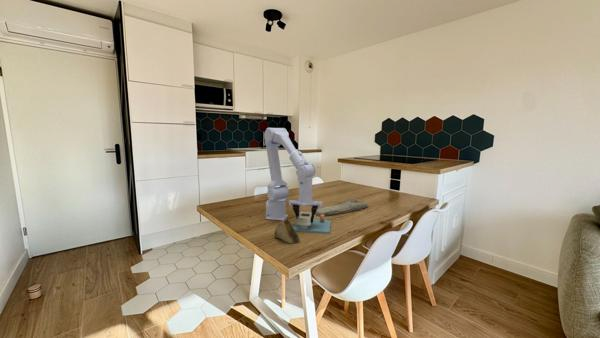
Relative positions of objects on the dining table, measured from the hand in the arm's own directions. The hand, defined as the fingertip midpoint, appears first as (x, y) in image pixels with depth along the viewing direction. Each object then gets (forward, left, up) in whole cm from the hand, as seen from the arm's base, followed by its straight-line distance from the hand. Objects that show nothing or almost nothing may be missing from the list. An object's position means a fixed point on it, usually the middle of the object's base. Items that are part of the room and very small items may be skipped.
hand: (305, 221), depth 112 cm
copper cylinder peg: (+7, +7, -3) cm, 10 cm away
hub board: (+3, +2, -3) cm, 5 cm away
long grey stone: (+16, +29, -3) cm, 33 cm away
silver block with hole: (0, 0, 0) cm, 0 cm away
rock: (-6, -13, -3) cm, 15 cm away
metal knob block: (0, 0, -3) cm, 3 cm away
